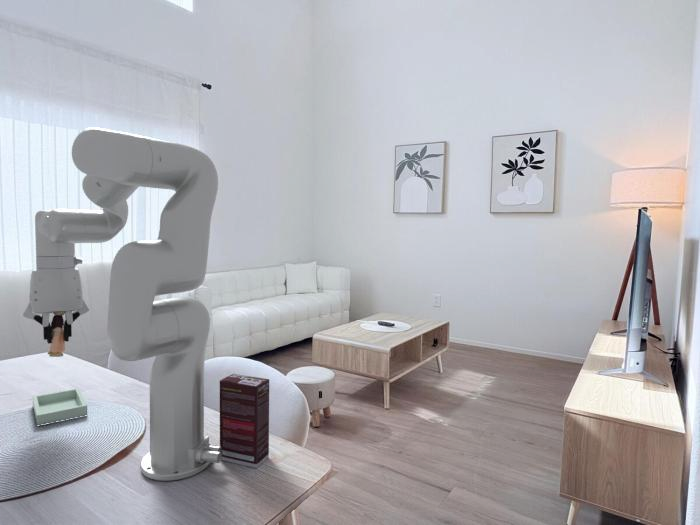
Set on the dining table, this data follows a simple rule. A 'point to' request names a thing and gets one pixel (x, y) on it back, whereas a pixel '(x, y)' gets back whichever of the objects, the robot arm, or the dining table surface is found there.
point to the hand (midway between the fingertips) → (57, 340)
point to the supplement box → (244, 420)
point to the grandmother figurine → (57, 335)
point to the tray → (59, 406)
